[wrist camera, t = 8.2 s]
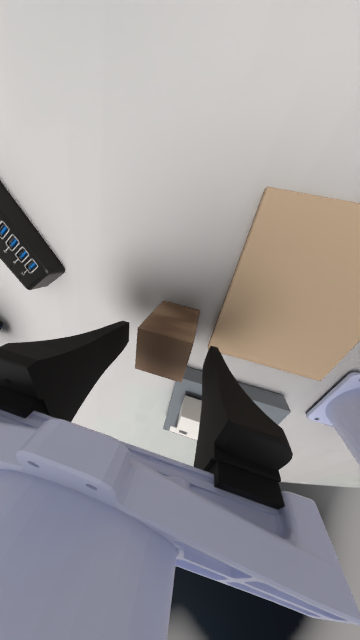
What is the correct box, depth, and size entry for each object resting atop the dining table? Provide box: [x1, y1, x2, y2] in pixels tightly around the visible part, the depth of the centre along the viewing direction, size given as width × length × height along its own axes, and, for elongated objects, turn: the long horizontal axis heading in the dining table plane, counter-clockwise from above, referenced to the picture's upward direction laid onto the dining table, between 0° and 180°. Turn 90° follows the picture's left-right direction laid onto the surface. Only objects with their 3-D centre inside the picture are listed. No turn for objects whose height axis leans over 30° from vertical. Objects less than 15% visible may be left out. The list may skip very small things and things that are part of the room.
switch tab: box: [177, 395, 202, 436], centre depth 17 cm, size 3×3×2 cm
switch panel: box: [163, 367, 291, 440], centre depth 20 cm, size 13×12×2 cm
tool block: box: [135, 301, 200, 383], centre depth 14 cm, size 4×4×6 cm
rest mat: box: [208, 187, 360, 381], centre depth 13 cm, size 12×14×1 cm
